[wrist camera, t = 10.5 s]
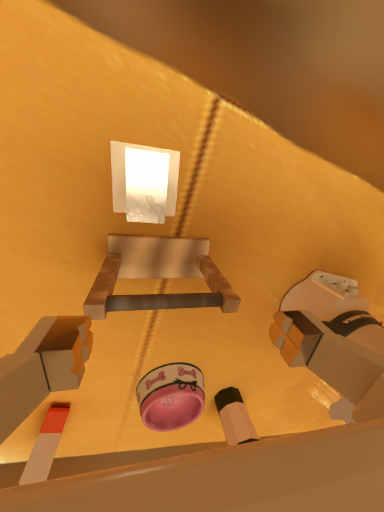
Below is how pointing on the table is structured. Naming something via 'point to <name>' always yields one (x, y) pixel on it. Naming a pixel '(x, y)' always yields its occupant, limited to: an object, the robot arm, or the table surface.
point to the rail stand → (157, 275)
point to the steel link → (146, 186)
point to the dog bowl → (171, 396)
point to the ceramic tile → (120, 175)
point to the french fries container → (45, 447)
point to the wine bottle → (235, 417)
